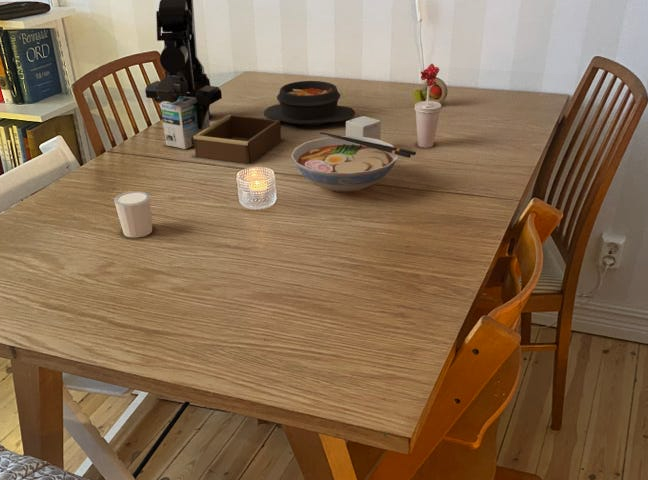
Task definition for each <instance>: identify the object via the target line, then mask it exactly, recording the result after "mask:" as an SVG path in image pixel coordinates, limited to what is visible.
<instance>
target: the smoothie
mask: <svg viewBox="0 0 648 480" xmlns="http://www.w3.org/2000/svg"><path fill="white" fill-rule="evenodd" d="M430 89H431V85H430V86H428V88H427V100H425V101H422V102H418V103H416V104H415V103H414V108H413V109H414V111H415V120H416V138H417V146H418V147H420V148H423V149H424V148H432V147H433V146H434V142H435V137H436V133H437V127H438V123H439V117H440V113H441V111H442V103H441V104H440V103H438V102H433V101H429V94H430Z"/></svg>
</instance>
